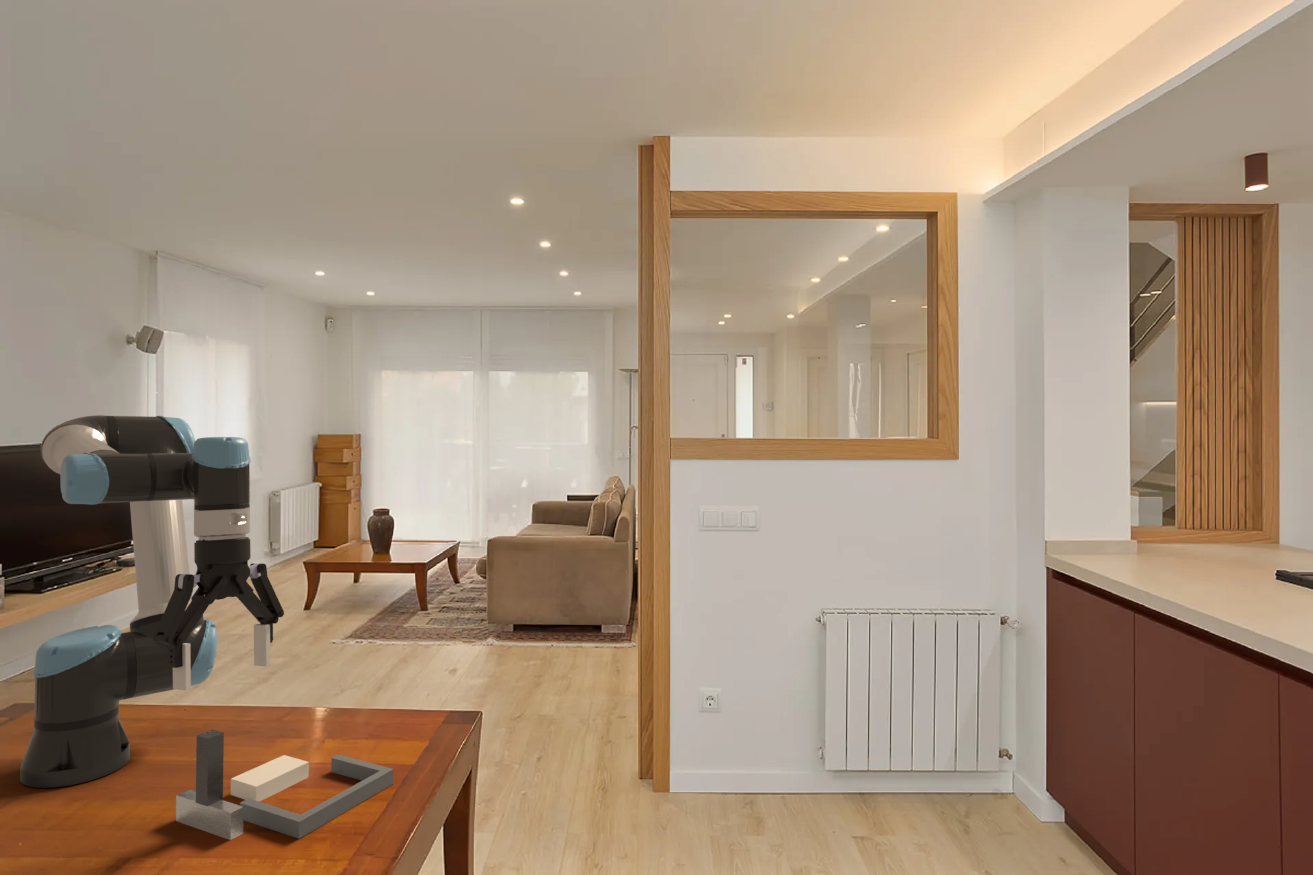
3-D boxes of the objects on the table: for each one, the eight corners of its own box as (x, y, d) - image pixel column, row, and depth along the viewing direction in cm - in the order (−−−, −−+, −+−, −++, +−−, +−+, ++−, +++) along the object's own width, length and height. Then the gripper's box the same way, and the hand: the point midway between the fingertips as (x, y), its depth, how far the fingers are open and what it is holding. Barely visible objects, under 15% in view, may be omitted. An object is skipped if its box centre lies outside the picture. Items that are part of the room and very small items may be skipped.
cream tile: (230, 796, 123) (230, 778, 123) (283, 771, 132) (284, 754, 132) (256, 805, 120) (256, 786, 120) (308, 779, 130) (308, 761, 130)
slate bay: (239, 818, 116) (239, 802, 116) (338, 768, 133) (338, 754, 133) (299, 838, 110) (299, 821, 110) (393, 783, 128) (393, 768, 128)
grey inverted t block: (174, 821, 114) (175, 729, 114) (190, 814, 117) (191, 723, 116) (228, 841, 110) (230, 744, 109) (244, 832, 112) (245, 738, 112)
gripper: (159, 545, 104) (161, 702, 103) (306, 530, 127) (308, 658, 126) (123, 545, 107) (124, 698, 106) (273, 530, 130) (274, 655, 129)
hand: (224, 676), depth 116 cm, fingers open, 13 cm apart
